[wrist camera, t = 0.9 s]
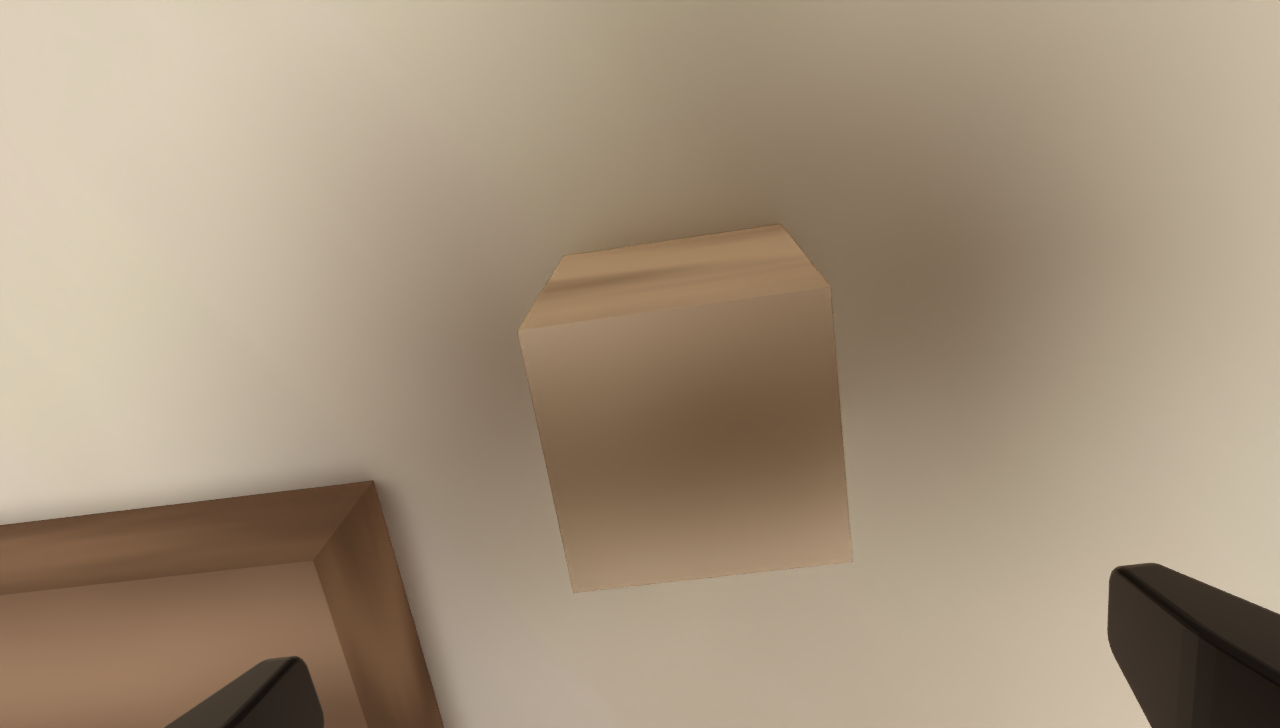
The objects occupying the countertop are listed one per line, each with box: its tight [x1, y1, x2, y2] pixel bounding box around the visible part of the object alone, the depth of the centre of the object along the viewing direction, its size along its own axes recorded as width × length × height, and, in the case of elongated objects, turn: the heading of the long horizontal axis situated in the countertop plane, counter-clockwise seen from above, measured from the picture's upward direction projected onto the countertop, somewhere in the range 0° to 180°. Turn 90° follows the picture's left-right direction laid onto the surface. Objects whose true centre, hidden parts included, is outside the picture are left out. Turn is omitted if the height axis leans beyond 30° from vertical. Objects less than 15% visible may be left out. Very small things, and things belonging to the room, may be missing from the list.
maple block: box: [517, 224, 852, 593], centre depth 16 cm, size 5×5×6 cm
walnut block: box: [0, 481, 444, 728], centre depth 21 cm, size 11×11×4 cm
